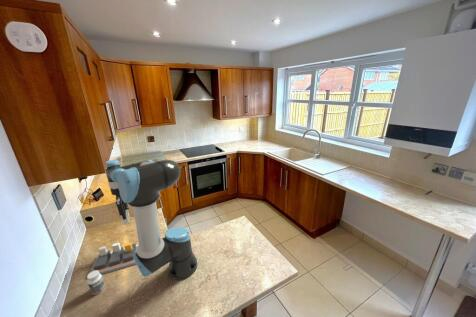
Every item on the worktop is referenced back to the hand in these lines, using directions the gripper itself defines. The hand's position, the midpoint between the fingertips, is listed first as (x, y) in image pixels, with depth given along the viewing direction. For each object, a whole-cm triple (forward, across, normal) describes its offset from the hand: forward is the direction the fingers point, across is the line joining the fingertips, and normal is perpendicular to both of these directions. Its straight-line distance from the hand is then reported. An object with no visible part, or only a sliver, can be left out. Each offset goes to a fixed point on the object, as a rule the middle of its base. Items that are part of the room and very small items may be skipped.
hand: (126, 221), depth 117 cm
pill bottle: (+19, -27, +12) cm, 35 cm away
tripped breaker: (+14, -9, 0) cm, 17 cm away
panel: (+19, -9, +7) cm, 22 cm away
